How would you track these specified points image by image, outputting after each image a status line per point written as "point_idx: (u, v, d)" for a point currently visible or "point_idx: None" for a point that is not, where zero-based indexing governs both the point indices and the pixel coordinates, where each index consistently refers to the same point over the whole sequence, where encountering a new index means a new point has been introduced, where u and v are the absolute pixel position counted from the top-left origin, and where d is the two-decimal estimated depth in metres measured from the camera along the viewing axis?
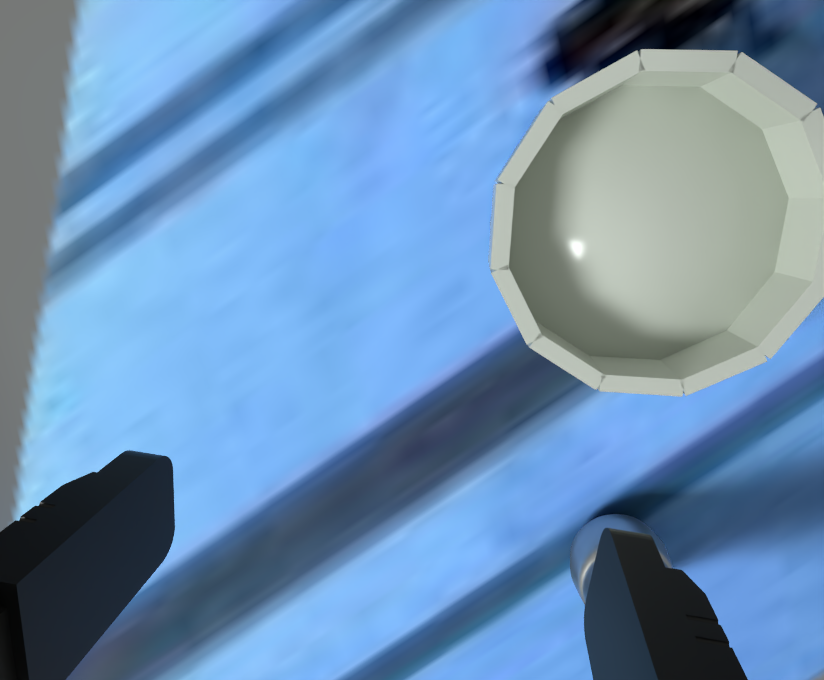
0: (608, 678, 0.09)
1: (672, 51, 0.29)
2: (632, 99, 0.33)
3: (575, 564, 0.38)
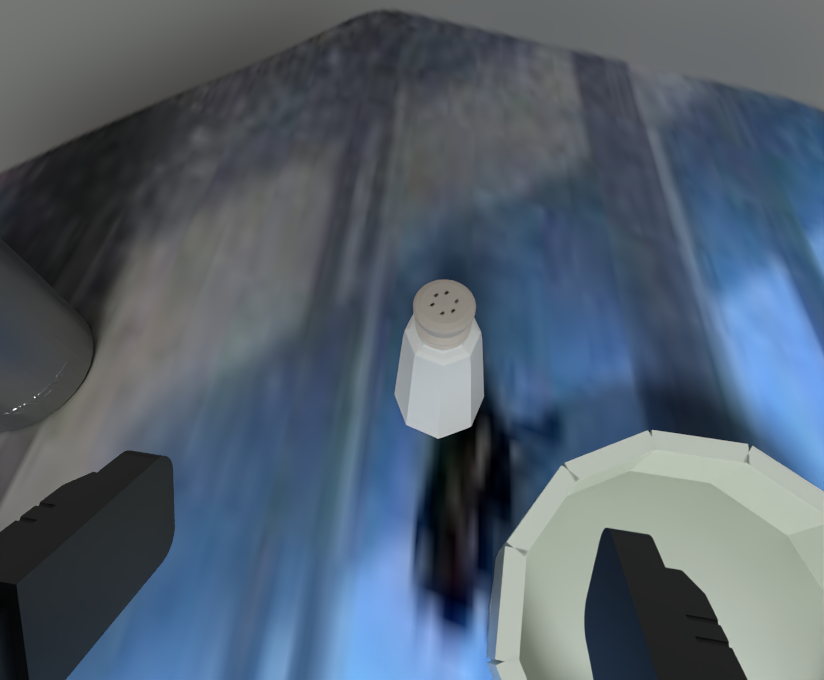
0: (608, 678, 0.09)
1: (526, 516, 0.27)
2: (534, 562, 0.30)
3: None
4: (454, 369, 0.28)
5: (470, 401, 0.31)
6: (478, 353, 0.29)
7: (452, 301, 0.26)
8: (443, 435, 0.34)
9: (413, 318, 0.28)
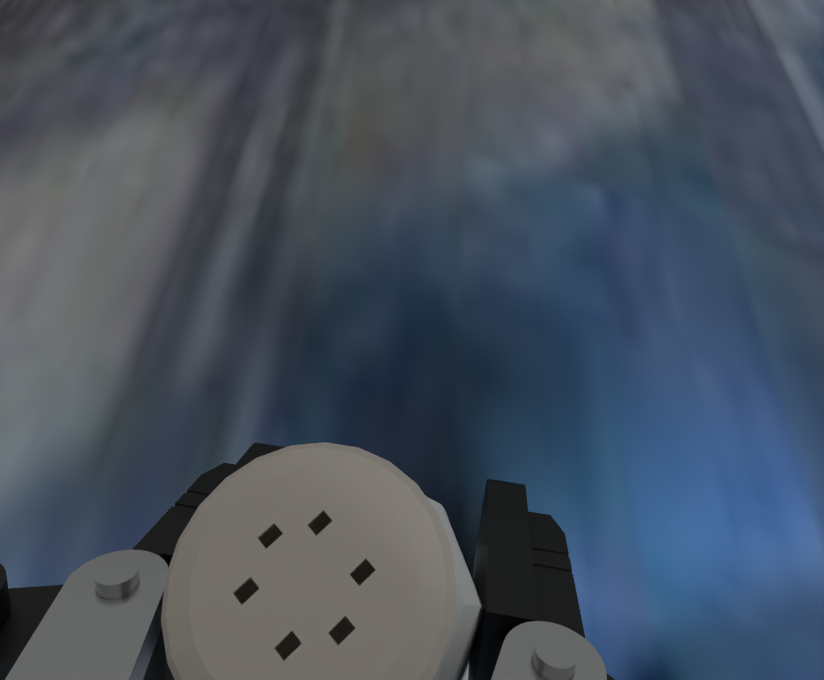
0: None
1: None
2: None
3: None
4: None
5: None
6: (472, 647, 0.09)
7: (343, 573, 0.05)
8: None
9: None
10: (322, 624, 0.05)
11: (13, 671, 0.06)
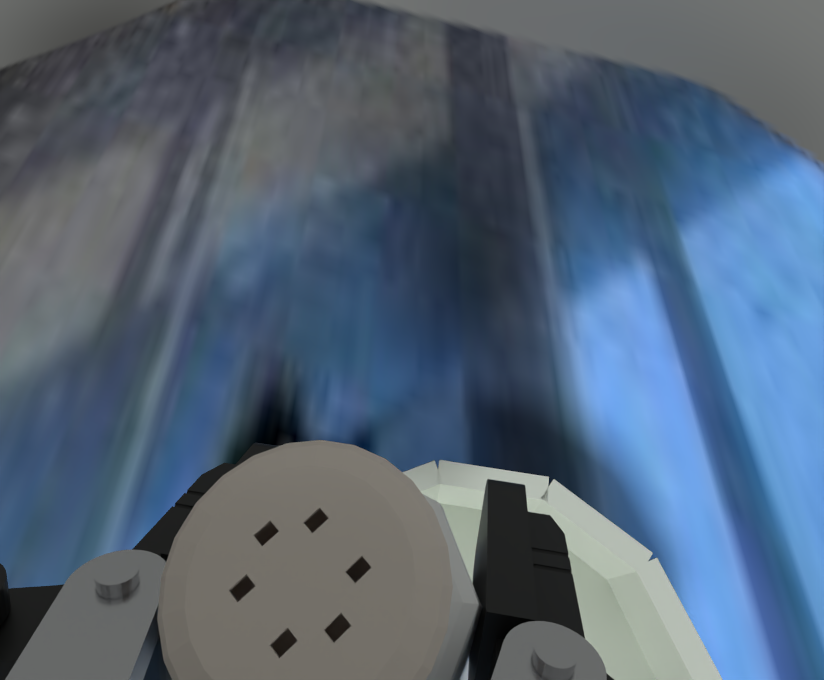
0: None
1: None
2: None
3: None
4: None
5: None
6: (470, 646, 0.09)
7: (339, 570, 0.05)
8: None
9: None
10: (318, 621, 0.05)
11: (14, 671, 0.06)
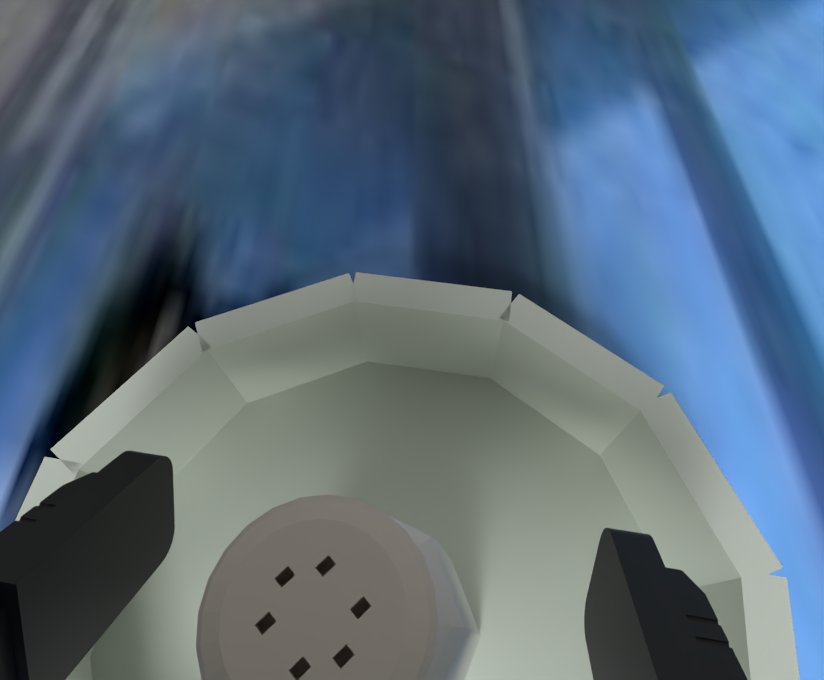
0: (608, 678, 0.09)
1: (101, 408, 0.15)
2: (180, 500, 0.18)
3: None
4: None
5: None
6: (459, 661, 0.10)
7: (344, 608, 0.07)
8: None
9: None
10: (327, 651, 0.06)
11: None
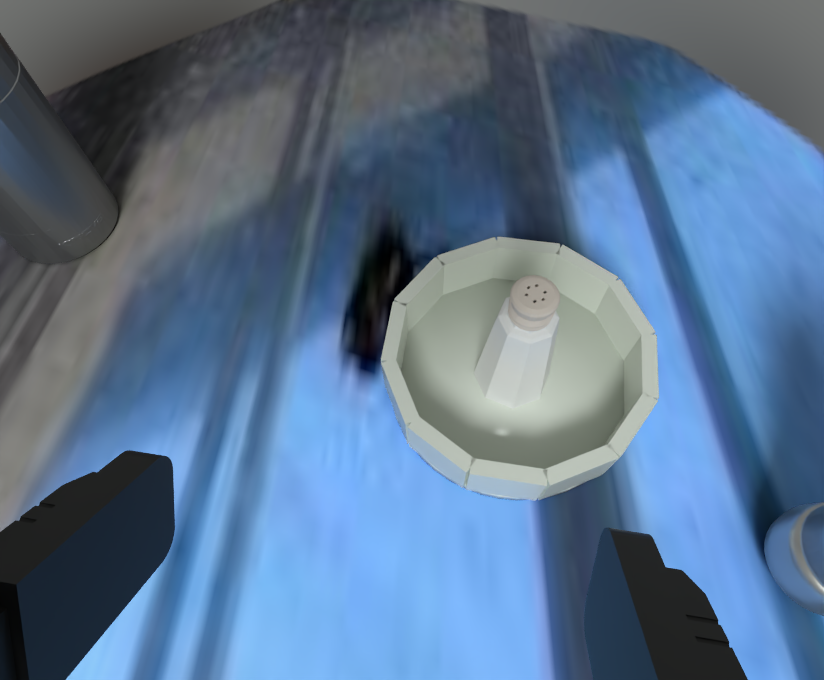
0: (608, 678, 0.09)
1: (408, 285, 0.41)
2: (422, 331, 0.44)
3: (811, 597, 0.33)
4: (538, 347, 0.35)
5: (543, 375, 0.38)
6: (555, 335, 0.36)
7: (542, 292, 0.33)
8: (517, 405, 0.41)
9: (504, 306, 0.35)
10: (539, 299, 0.32)
11: None
